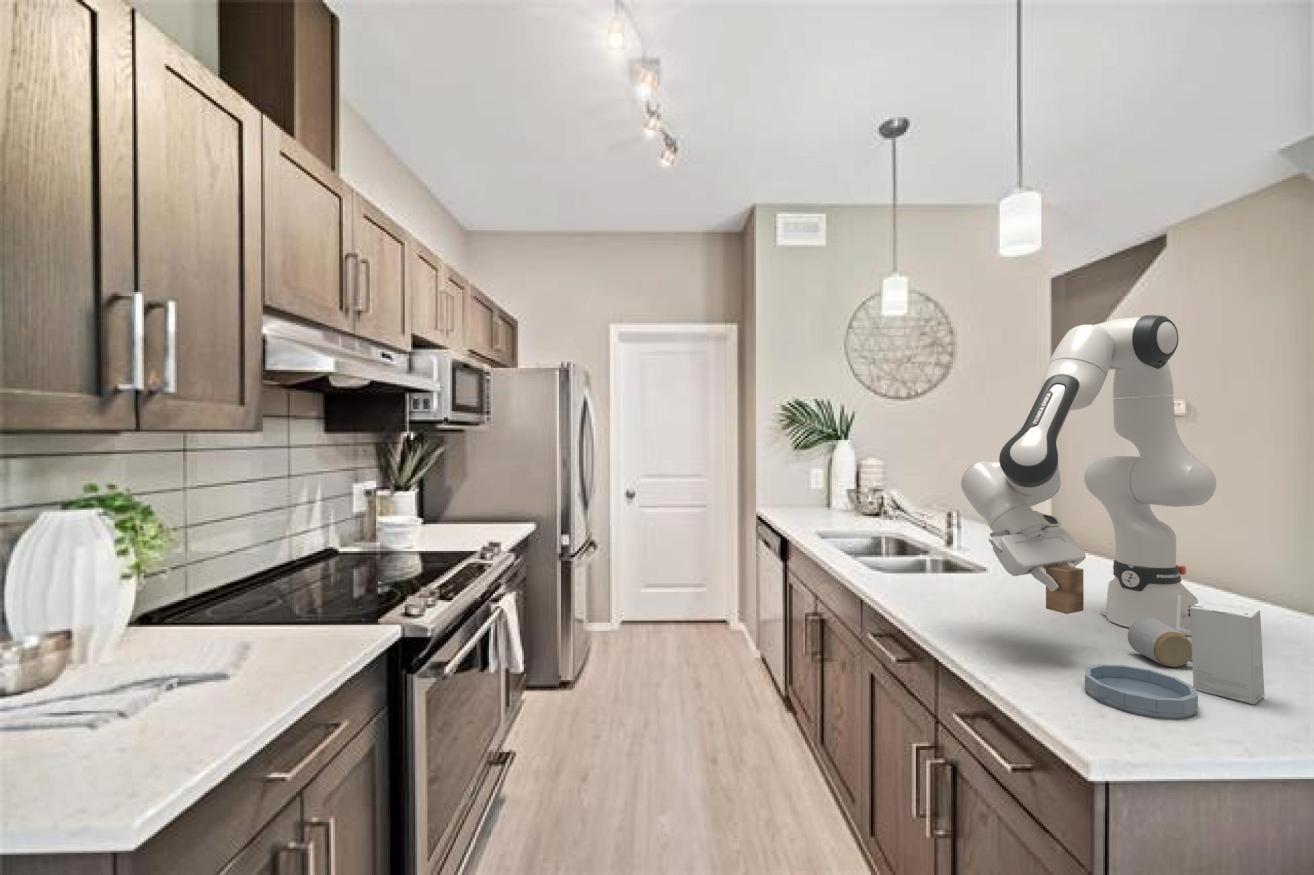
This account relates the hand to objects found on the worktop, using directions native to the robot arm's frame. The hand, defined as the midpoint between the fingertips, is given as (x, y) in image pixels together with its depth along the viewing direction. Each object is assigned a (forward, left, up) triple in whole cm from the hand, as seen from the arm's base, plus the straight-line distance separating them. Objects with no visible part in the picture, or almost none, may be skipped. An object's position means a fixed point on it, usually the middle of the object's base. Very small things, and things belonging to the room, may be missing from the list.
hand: (1067, 587), depth 119 cm
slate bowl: (+4, +14, -15) cm, 21 cm away
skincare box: (-12, +19, -15) cm, 27 cm away
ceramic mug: (-20, +7, -15) cm, 26 cm away
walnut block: (0, -1, -4) cm, 4 cm away
